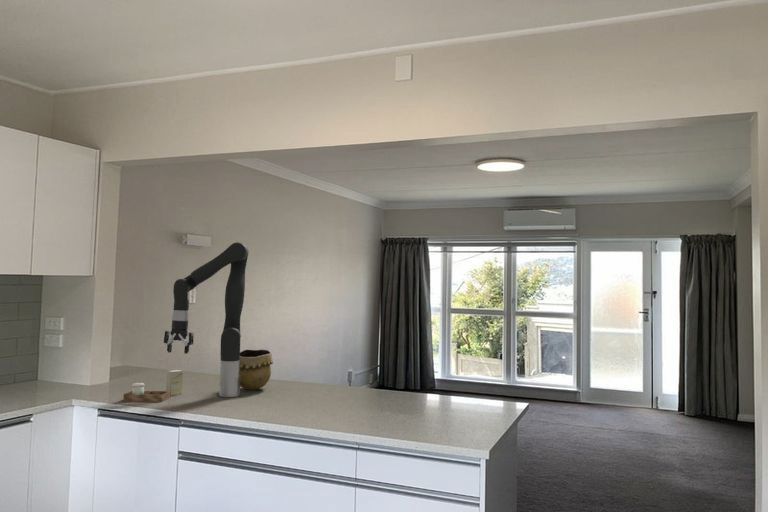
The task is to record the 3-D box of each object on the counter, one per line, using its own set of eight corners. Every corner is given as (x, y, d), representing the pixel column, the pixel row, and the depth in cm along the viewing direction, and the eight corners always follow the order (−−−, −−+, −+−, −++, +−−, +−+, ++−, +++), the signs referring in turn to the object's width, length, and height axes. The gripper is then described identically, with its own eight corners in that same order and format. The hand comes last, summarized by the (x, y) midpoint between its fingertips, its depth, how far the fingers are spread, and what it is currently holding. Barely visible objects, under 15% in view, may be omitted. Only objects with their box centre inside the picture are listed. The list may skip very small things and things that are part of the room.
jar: (145, 398, 269) (146, 383, 269) (141, 400, 264) (141, 384, 264) (134, 397, 269) (135, 382, 269) (129, 400, 264) (130, 384, 264)
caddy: (169, 399, 271) (170, 391, 271) (162, 403, 261) (162, 395, 262) (132, 398, 271) (132, 390, 271) (123, 402, 262) (123, 394, 262)
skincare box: (170, 397, 274) (171, 371, 275) (165, 396, 277) (166, 370, 278) (182, 395, 279) (183, 370, 280) (176, 394, 282) (177, 369, 283)
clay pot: (264, 394, 287) (265, 353, 288) (224, 392, 290) (225, 352, 291) (278, 387, 307) (279, 349, 308) (240, 385, 311) (241, 348, 312)
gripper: (197, 320, 284) (195, 353, 283) (170, 318, 286) (167, 351, 285) (190, 320, 276) (187, 354, 275) (162, 319, 278) (160, 352, 277)
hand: (177, 352), depth 280 cm, fingers open, 8 cm apart
